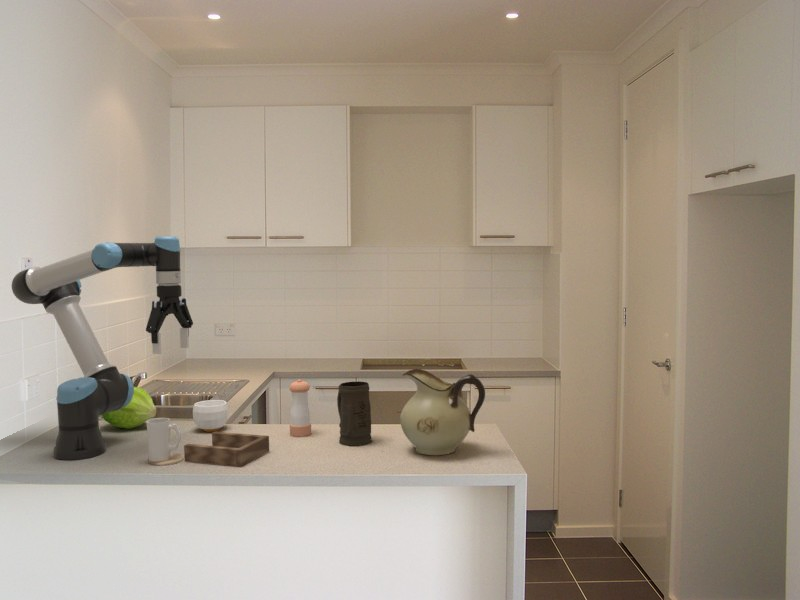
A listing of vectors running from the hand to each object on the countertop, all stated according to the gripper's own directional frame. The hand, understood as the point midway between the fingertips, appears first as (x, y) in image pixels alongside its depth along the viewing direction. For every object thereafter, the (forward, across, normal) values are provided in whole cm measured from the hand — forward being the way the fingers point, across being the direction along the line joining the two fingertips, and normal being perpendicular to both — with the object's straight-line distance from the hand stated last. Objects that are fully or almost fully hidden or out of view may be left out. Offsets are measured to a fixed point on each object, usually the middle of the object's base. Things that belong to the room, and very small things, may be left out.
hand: (171, 350), depth 224 cm
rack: (+32, -2, -21) cm, 38 cm away
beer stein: (+32, +26, -51) cm, 66 cm away
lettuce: (+32, +18, +34) cm, 50 cm away
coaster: (+32, -12, -6) cm, 35 cm away
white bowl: (+32, +24, +3) cm, 40 cm away
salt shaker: (+32, +28, -31) cm, 53 cm away
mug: (+32, -12, -6) cm, 34 cm away
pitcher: (+32, +24, -82) cm, 91 cm away
